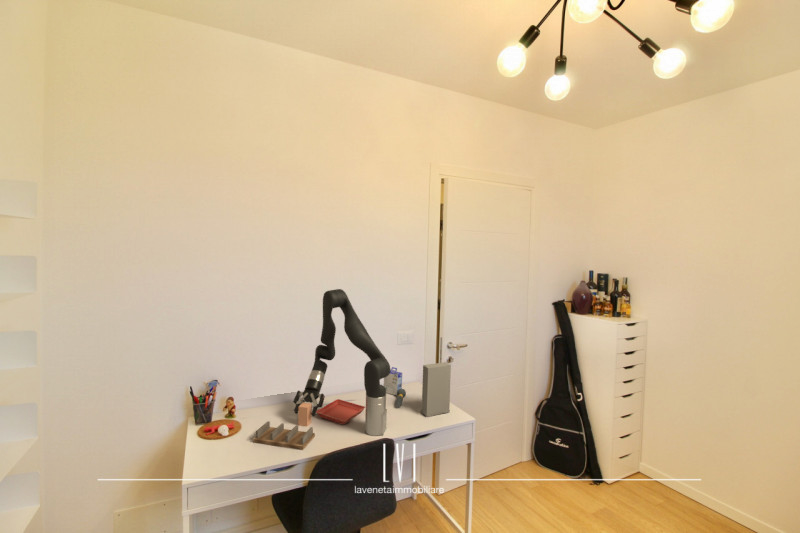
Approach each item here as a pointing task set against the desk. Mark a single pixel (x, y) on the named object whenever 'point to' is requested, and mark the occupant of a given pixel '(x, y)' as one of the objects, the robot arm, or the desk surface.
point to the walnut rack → (283, 436)
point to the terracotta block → (305, 414)
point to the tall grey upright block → (436, 389)
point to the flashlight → (400, 397)
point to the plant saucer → (340, 411)
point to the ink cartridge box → (393, 382)
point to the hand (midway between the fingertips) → (304, 414)
